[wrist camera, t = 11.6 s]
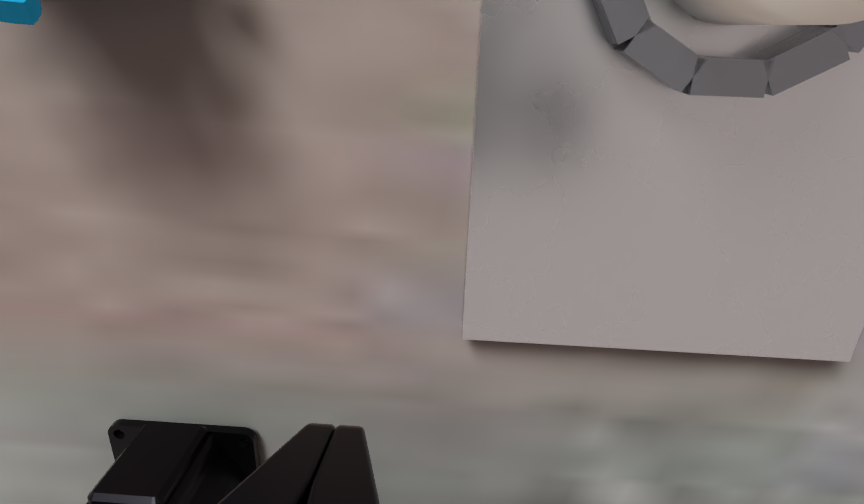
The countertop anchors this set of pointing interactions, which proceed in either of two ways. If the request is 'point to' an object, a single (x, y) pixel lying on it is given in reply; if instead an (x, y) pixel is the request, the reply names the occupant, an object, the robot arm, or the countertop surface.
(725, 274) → the hub plate
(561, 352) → the countertop surface
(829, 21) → the knob
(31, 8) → the gear
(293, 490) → the robot arm
